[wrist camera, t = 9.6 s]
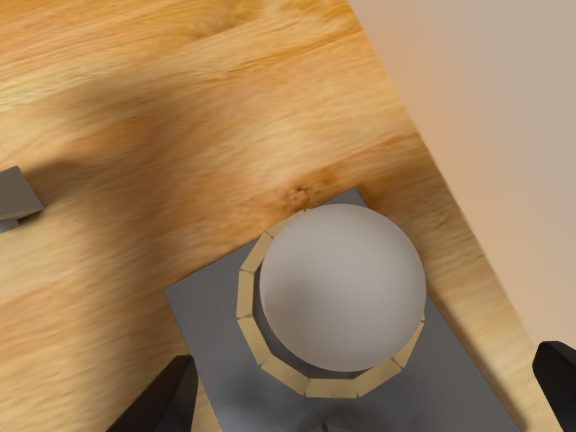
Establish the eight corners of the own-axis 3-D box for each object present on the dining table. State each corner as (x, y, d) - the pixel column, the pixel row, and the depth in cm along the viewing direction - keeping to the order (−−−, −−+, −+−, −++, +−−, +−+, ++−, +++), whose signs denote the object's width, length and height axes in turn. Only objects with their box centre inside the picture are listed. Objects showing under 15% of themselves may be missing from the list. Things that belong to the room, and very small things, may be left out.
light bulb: (310, 231, 21) (317, 144, 11) (399, 286, 19) (491, 239, 10) (254, 317, 19) (206, 299, 10) (346, 381, 18) (394, 434, 8)
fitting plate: (520, 442, 18) (554, 458, 15) (300, 598, 16) (300, 644, 13) (351, 193, 22) (357, 176, 20) (169, 291, 21) (152, 286, 18)
